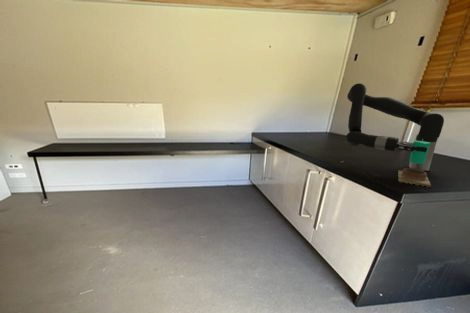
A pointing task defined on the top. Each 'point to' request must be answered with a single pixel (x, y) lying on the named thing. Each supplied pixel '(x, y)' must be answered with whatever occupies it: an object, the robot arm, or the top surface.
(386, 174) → the top surface
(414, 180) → the cup stand
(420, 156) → the candle
